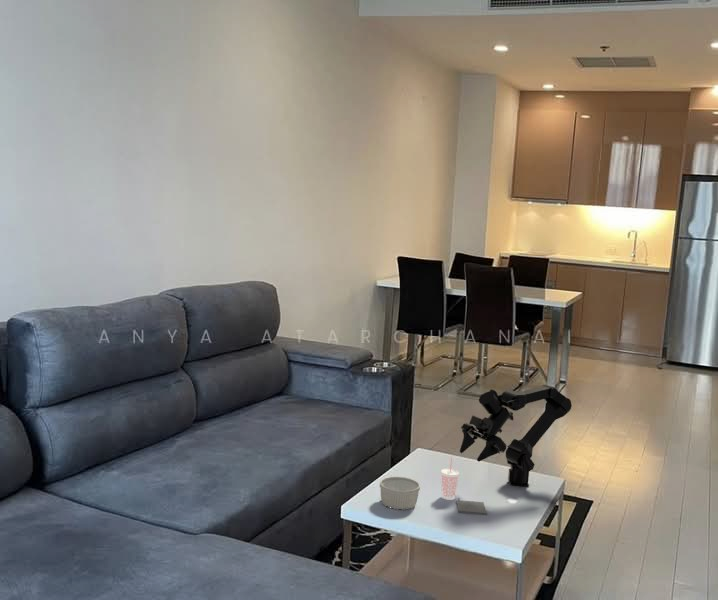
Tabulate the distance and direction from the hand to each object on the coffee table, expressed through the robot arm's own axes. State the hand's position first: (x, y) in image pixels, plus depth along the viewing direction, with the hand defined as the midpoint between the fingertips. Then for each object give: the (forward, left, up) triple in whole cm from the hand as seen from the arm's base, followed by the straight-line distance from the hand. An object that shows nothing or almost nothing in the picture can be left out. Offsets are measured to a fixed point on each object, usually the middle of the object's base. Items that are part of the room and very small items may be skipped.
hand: (468, 456), depth 253 cm
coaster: (-1, +13, -13) cm, 18 cm away
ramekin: (+23, +14, -14) cm, 30 cm away
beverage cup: (+6, +5, -13) cm, 16 cm away
